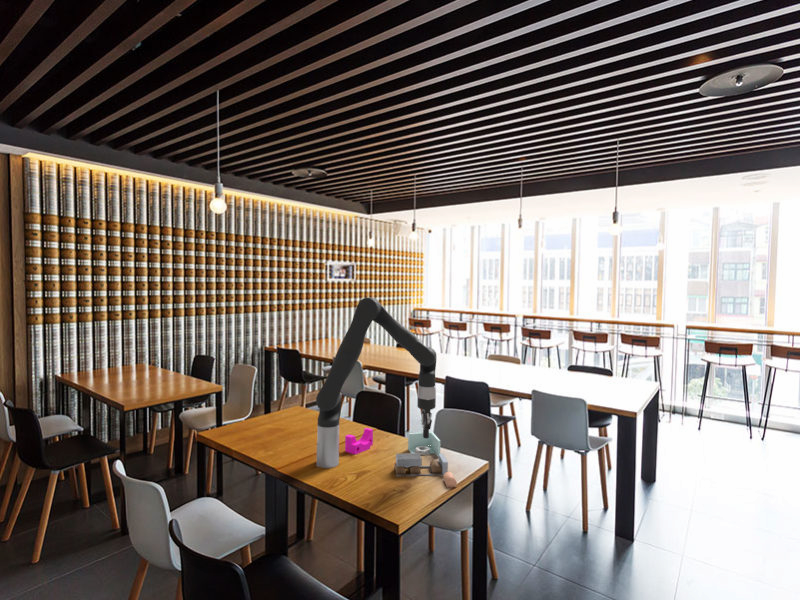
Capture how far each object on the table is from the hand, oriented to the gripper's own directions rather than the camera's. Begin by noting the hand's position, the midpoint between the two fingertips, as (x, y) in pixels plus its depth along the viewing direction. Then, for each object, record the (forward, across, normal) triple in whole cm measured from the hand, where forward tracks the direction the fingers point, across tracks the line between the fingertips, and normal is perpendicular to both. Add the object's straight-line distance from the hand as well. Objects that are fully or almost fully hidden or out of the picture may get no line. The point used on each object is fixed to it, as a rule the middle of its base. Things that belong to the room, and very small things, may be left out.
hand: (425, 437), depth 180 cm
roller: (+11, +12, +8) cm, 18 cm away
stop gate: (+15, 0, +8) cm, 17 cm away
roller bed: (+15, 0, -4) cm, 15 cm away
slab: (+11, 0, -7) cm, 13 cm away
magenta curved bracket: (+15, -28, -26) cm, 41 cm away
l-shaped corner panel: (+15, -21, +3) cm, 26 cm away
